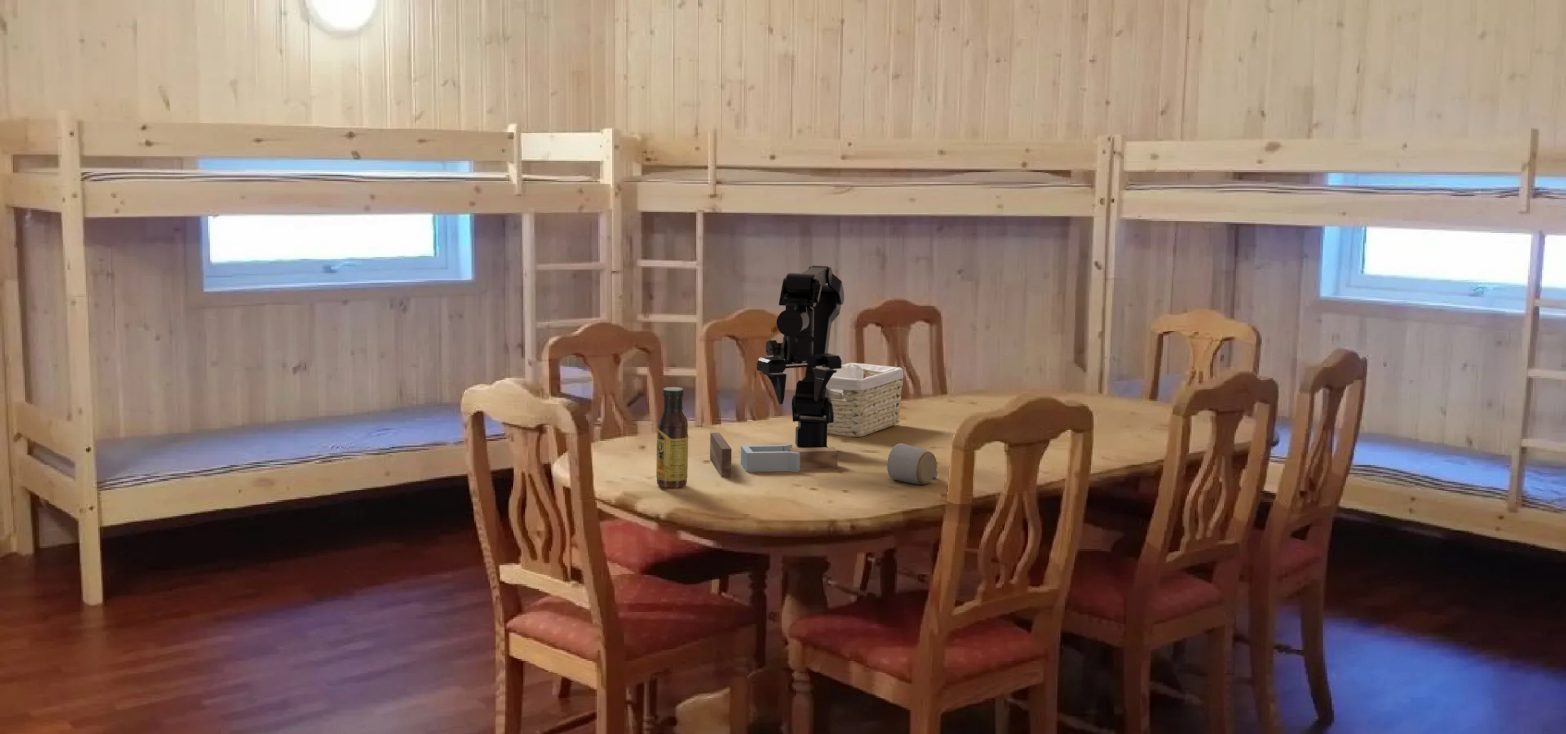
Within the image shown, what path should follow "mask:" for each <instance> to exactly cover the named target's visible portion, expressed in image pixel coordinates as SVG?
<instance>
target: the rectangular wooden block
mask: <svg viewBox="0 0 1566 734" xmlns="http://www.w3.org/2000/svg"><path fill="white" fill-rule="evenodd" d="M789 451H791V452H798V453H800V470H808V469H809V470H813V469H814V470H816V469H818V470H819V469H821V470H823V469H838V457H839V455H838V454H839V451H838V449H836V448H835V447H830V446H827V447H822V448H798V447H792V448H788V452H789Z"/></svg>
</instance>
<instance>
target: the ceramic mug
mask: <svg viewBox="0 0 1566 734" xmlns="http://www.w3.org/2000/svg"><path fill="white" fill-rule="evenodd" d="M886 463H887V464H886V469H887V473H888V476H889V478H891V479H892V480H895V481H899V482H902V483H903V482H904V483H909V484H914V485H924V486H925V485H926V484H929V483H930V482H931V481H933V480H936V479H937V478H938V475H939V472H938V470H937V467H938V464H937V463H938V462H937V458H936V456H935V455H934V453H933V452H931V451H929V450H926V449H924V448H921V447H917V446H913V445H909V444H906V443H903V442H902V443H901V442H900V443H897V444H895V445H894V446H893V447H892V448H891V450H890V451H889V454H888V457H887V461H886Z"/></svg>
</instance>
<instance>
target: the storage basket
mask: <svg viewBox="0 0 1566 734" xmlns="http://www.w3.org/2000/svg"><path fill="white" fill-rule="evenodd" d="M833 370H837V372H836V373H833V375H832V377H831V378H830V380H829V381H828V383H827V385H826V388H827V390H828V392H829V397H830V399H831V403H832V405H833V411H834V423H829V424H827V434H829V435H835V436H842V437H845V436H846V437H850V438H853V437H859V438H860V437H861V438H862V437H865V436H866V435H870V434H874V433H876V432H879V431H881V430H884V429H888V428H890V427H892V426H895V425H898V424H899V423H900V420H899V418H900V410H901V401H902V390H903V385H904V384H903V383H904V369H903V368H902V367H900V366H896V367H895V366H890V365H889V366H888V365H879V364H878V365H877V364H871V363H870V364H868V363H856V362H847V363H845V364H842V368H841V369H833ZM864 375H866V377H864ZM824 417H826V416H824Z"/></svg>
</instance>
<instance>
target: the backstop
mask: <svg viewBox="0 0 1566 734" xmlns="http://www.w3.org/2000/svg"><path fill="white" fill-rule="evenodd" d="M709 433H710V437H709V441H710V442H709V445H710V446H709V461H710V462H711V463H712V466H714V468H715V470H716V471H717V473H718V475H719V476H720V478H731V477H732V453H733V452H732V447H731V446H730V445H729V443H728V442H727V440H725V439H726V438H724V436H723V435H722V434H721V433H720V432H709Z"/></svg>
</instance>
